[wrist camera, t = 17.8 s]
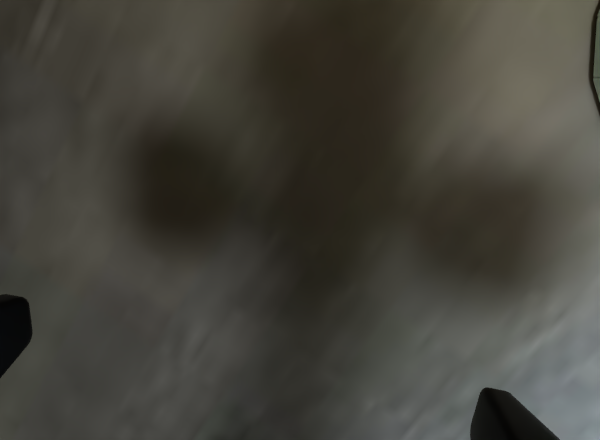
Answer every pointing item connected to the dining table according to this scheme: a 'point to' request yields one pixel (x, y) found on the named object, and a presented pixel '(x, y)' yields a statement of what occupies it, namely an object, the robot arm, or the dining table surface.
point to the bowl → (597, 58)
